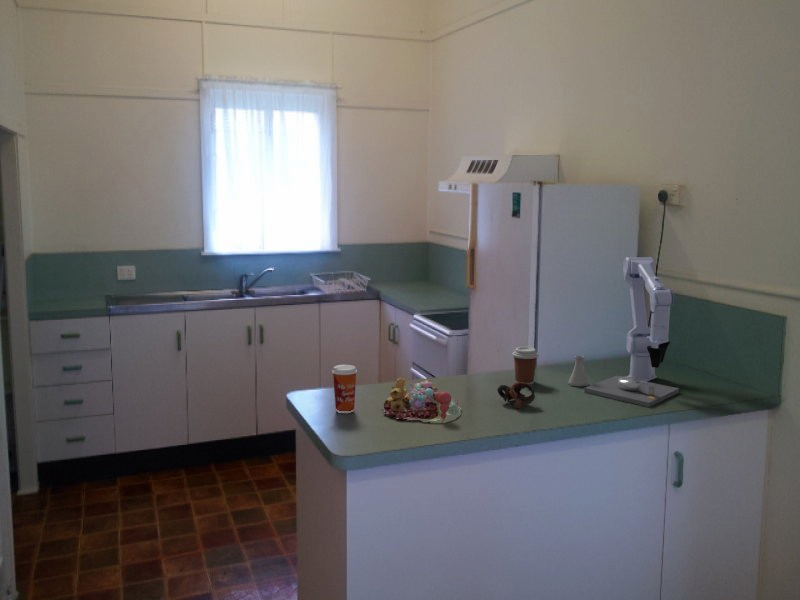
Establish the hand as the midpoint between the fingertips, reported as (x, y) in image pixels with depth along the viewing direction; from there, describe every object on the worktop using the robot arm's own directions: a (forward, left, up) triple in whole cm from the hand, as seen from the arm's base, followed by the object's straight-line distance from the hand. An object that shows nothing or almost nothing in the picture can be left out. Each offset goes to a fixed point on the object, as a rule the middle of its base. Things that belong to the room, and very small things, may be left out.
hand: (657, 364), depth 256 cm
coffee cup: (+22, -38, -10) cm, 45 cm away
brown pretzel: (+45, -25, -10) cm, 53 cm away
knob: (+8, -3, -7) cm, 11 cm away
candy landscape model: (+71, -43, -10) cm, 83 cm away
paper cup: (+88, -59, -10) cm, 106 cm away
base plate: (+7, -5, -9) cm, 13 cm away
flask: (+11, -23, -10) cm, 27 cm away
